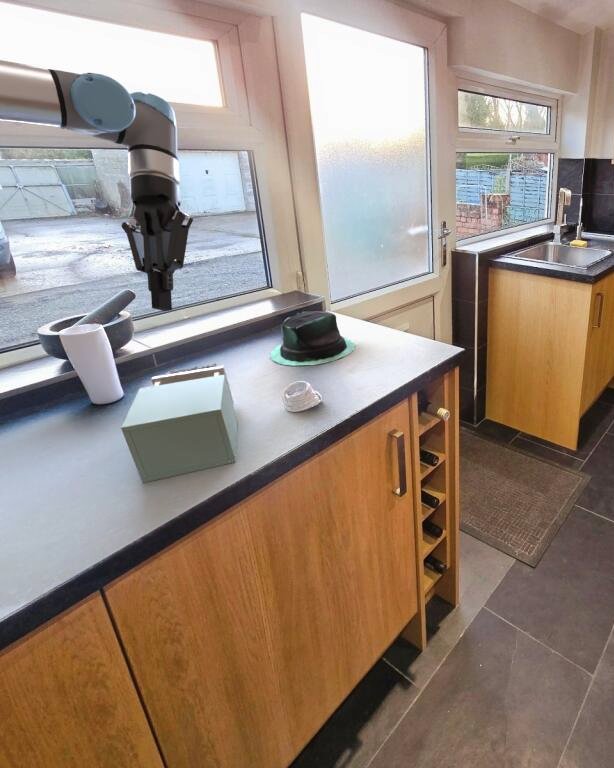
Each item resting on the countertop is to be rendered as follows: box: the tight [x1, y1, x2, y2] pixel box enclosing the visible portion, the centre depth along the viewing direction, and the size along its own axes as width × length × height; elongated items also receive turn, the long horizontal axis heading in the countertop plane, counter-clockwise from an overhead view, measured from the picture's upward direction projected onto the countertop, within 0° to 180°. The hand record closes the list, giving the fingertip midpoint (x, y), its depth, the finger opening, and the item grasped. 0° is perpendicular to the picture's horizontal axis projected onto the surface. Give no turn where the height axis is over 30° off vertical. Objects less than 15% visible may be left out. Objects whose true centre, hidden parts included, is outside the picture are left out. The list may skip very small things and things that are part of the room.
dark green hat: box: [269, 310, 356, 367], centre depth 124 cm, size 15×19×20 cm
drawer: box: [151, 365, 235, 406], centre depth 89 cm, size 18×11×8 cm, turn 26°
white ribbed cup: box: [281, 380, 324, 413], centre depth 96 cm, size 8×7×5 cm
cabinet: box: [120, 375, 239, 484], centre depth 81 cm, size 15×13×10 cm
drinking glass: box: [58, 323, 125, 405], centre depth 97 cm, size 7×7×15 cm
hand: (162, 308), depth 89 cm, fingers closed
